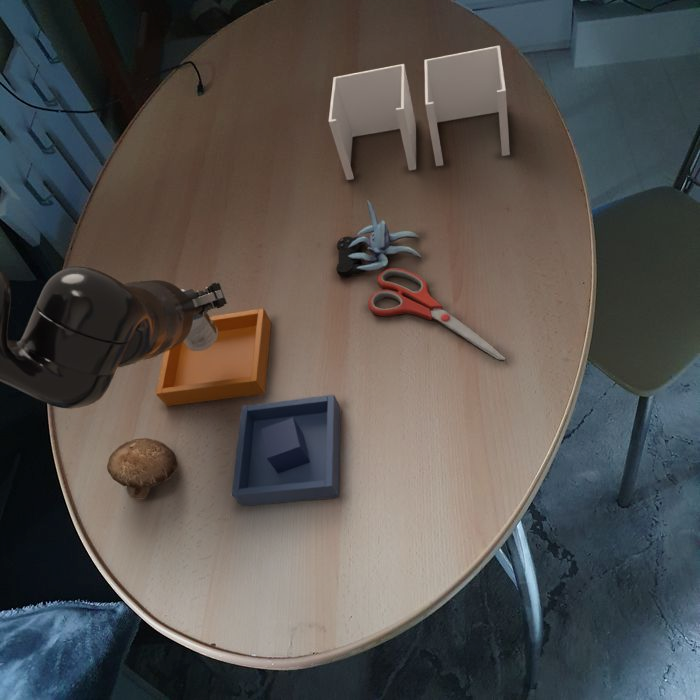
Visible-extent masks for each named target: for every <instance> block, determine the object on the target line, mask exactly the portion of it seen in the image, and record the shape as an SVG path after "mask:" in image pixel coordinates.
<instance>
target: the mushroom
mask: <svg viewBox="0 0 700 700" xmlns="http://www.w3.org/2000/svg"><path fill="white" fill-rule="evenodd" d="M178 467H179V463H178V459H177V455H176V453H175V451H173V450H172V449H171V448H170V447H169V446H168V445H166V444H165V443H164V442H161V441H159V440H156V439H153V438H152V439H151V438H136V439H133V440H130V441H126V442H125V443H123V444H121V445H119V446H118V447H117V448H116V449H115V450H113V452H112V453H111V454H110V456H109V457H108V461H107V466H106V469H107V472H108V474H109V475H110V477H111V478H112V480H113V481H115V482H116V483H118V484H120V485H121V486H122V487H126V490H127V494H129V496H130V497H131V498H134V499H137V500H142V499H145V498H146V497H147V496H148V495H149V493H150V489H151V488H152V487H155V486H157V485H162V484H164V483H165V482H166V481H168V480H170V478H172V477H173V476H174V474H175V472H177V470H178Z"/></svg>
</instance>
